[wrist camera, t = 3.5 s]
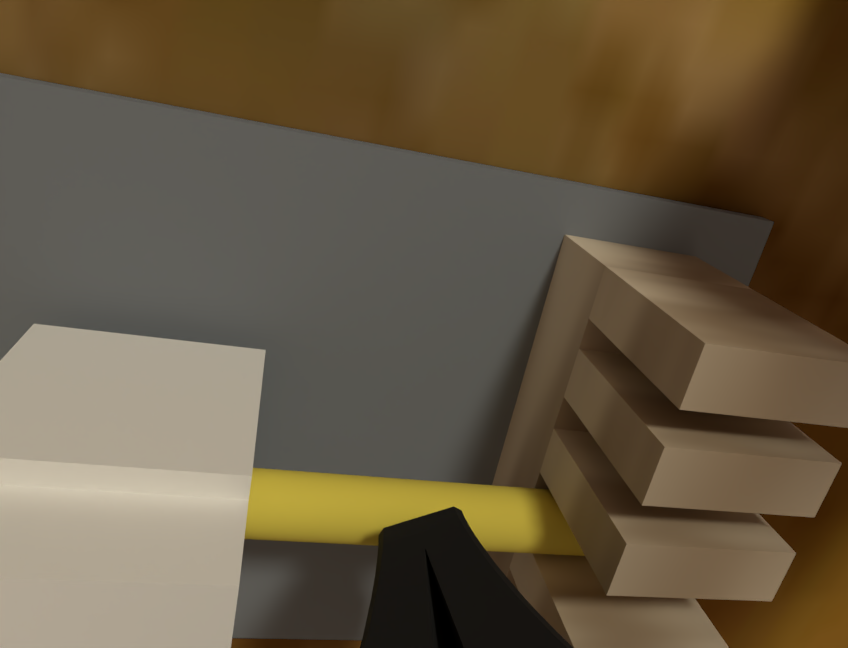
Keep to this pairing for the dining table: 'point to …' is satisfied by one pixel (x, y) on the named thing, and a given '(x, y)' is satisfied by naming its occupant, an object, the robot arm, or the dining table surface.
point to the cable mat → (311, 290)
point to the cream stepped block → (123, 488)
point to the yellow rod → (400, 510)
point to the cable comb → (665, 443)
